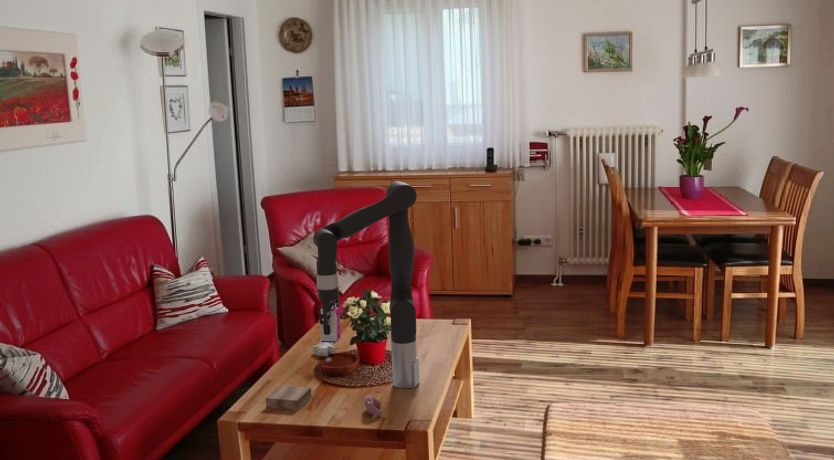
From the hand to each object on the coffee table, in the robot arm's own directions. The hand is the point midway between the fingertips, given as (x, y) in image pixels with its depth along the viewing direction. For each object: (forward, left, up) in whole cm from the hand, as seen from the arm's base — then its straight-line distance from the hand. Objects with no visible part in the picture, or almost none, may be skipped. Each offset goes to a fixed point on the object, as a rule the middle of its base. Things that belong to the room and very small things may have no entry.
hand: (330, 331), depth 299 cm
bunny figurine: (+21, -44, -25) cm, 55 cm away
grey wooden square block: (+14, +8, -25) cm, 30 cm away
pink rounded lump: (-18, +11, -25) cm, 32 cm away
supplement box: (0, 0, -3) cm, 3 cm away
